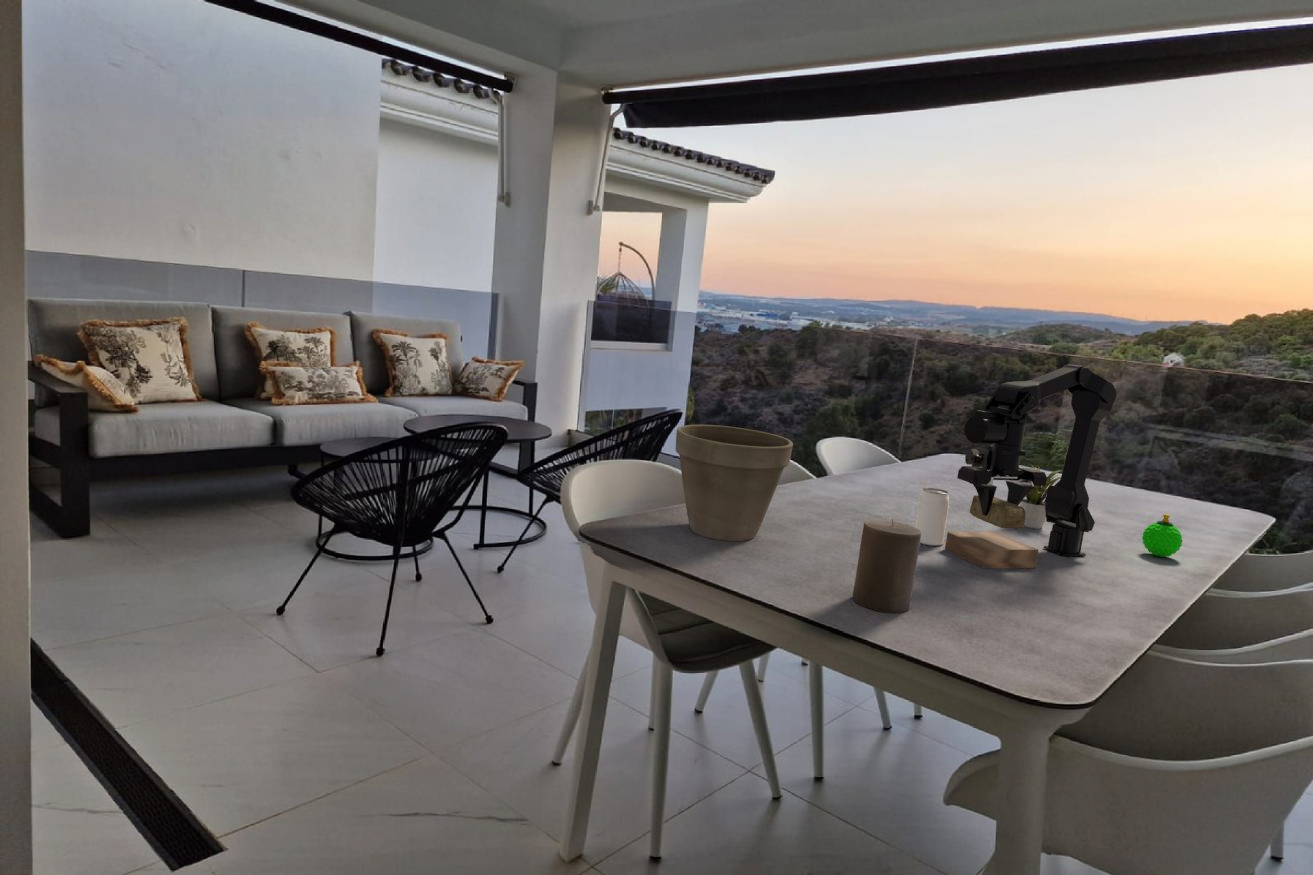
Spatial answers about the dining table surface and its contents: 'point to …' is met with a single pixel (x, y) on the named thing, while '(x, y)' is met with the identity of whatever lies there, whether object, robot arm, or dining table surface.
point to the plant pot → (729, 478)
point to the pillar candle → (886, 566)
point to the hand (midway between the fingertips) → (996, 515)
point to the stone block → (1000, 513)
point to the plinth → (991, 550)
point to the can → (932, 516)
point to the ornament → (1162, 538)
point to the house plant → (1037, 503)
